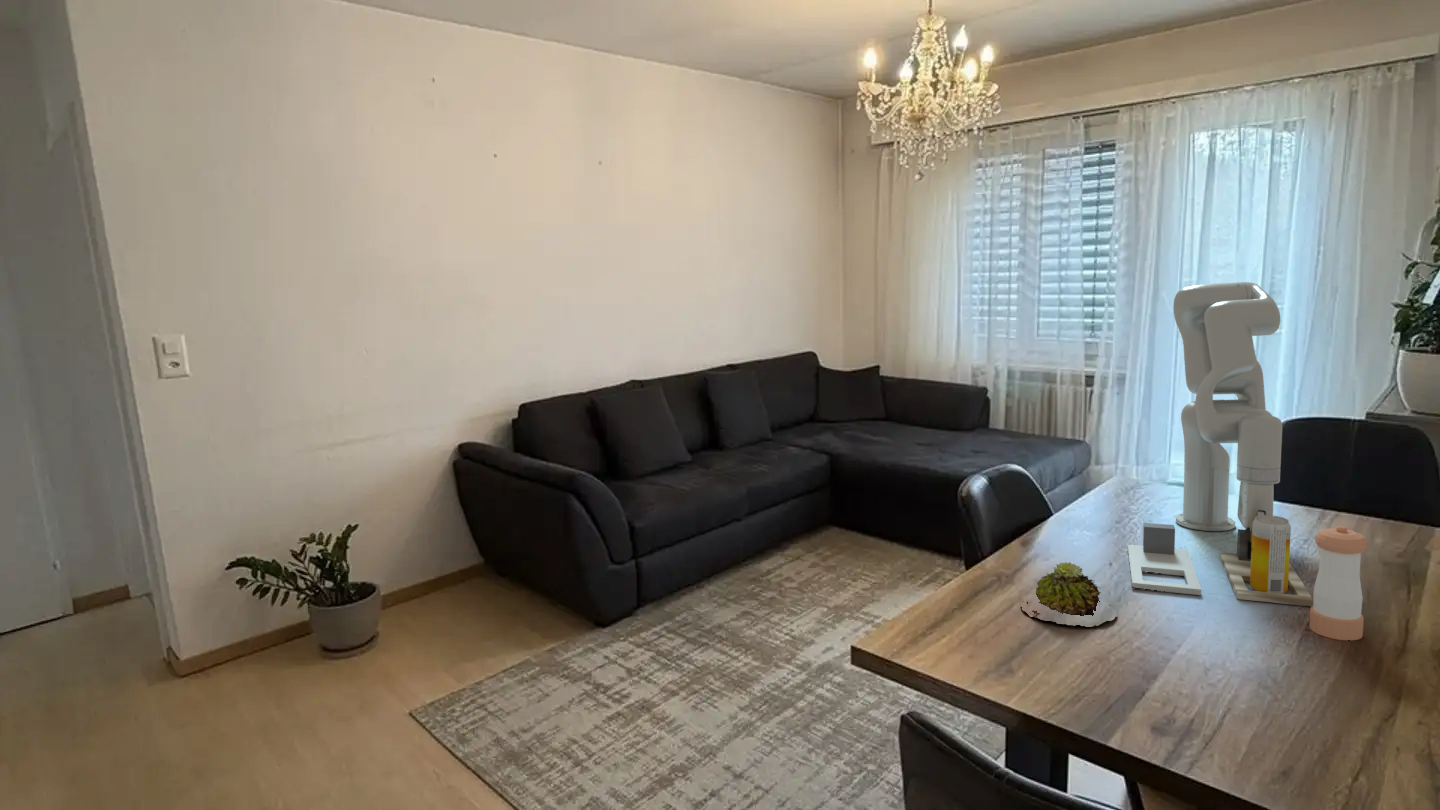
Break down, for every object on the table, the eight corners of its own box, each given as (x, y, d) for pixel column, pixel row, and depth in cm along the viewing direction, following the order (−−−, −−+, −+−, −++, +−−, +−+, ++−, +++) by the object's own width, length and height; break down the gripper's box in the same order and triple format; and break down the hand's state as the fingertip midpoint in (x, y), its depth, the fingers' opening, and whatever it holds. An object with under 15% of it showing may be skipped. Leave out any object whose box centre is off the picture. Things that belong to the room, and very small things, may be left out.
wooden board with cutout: (1219, 557, 168) (1220, 526, 167) (1285, 562, 163) (1286, 530, 162) (1237, 598, 147) (1238, 563, 146) (1313, 606, 142) (1315, 570, 141)
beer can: (1275, 585, 152) (1278, 513, 150) (1294, 597, 146) (1298, 523, 144) (1243, 586, 153) (1246, 515, 151) (1261, 598, 147) (1264, 524, 145)
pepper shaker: (1349, 644, 128) (1356, 536, 125) (1300, 629, 134) (1306, 525, 131) (1371, 633, 131) (1378, 527, 128) (1322, 618, 137) (1328, 517, 135)
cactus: (1021, 626, 143) (1021, 576, 141) (1019, 592, 158) (1019, 548, 156) (1123, 635, 137) (1124, 583, 135) (1111, 599, 152) (1112, 553, 150)
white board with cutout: (1127, 549, 176) (1128, 519, 175) (1187, 554, 171) (1188, 523, 170) (1132, 588, 155) (1132, 554, 154) (1201, 595, 150) (1202, 560, 149)
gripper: (1230, 463, 169) (1227, 542, 172) (1243, 482, 154) (1240, 568, 157) (1271, 465, 166) (1268, 545, 168) (1288, 484, 151) (1284, 571, 154)
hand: (1254, 555), depth 163 cm, fingers closed on wooden board with cutout, 3 cm apart
